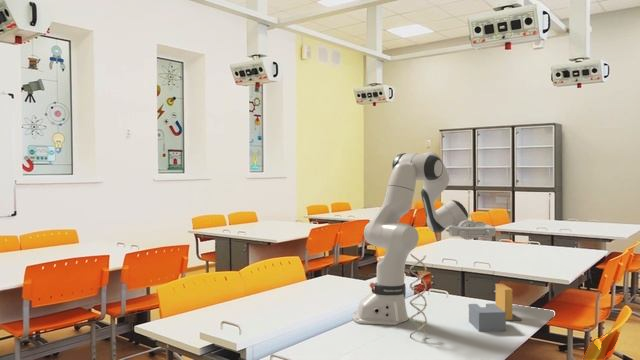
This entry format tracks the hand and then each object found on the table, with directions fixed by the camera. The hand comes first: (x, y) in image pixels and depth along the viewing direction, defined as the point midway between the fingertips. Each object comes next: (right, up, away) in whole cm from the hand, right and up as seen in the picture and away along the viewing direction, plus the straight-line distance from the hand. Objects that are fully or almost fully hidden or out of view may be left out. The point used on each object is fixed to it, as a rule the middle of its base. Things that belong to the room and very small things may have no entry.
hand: (477, 233), depth 223 cm
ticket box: (-4, -33, -25) cm, 42 cm away
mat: (+7, -32, -14) cm, 36 cm away
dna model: (-33, -34, -38) cm, 60 cm away
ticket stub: (+7, -32, -14) cm, 35 cm away
